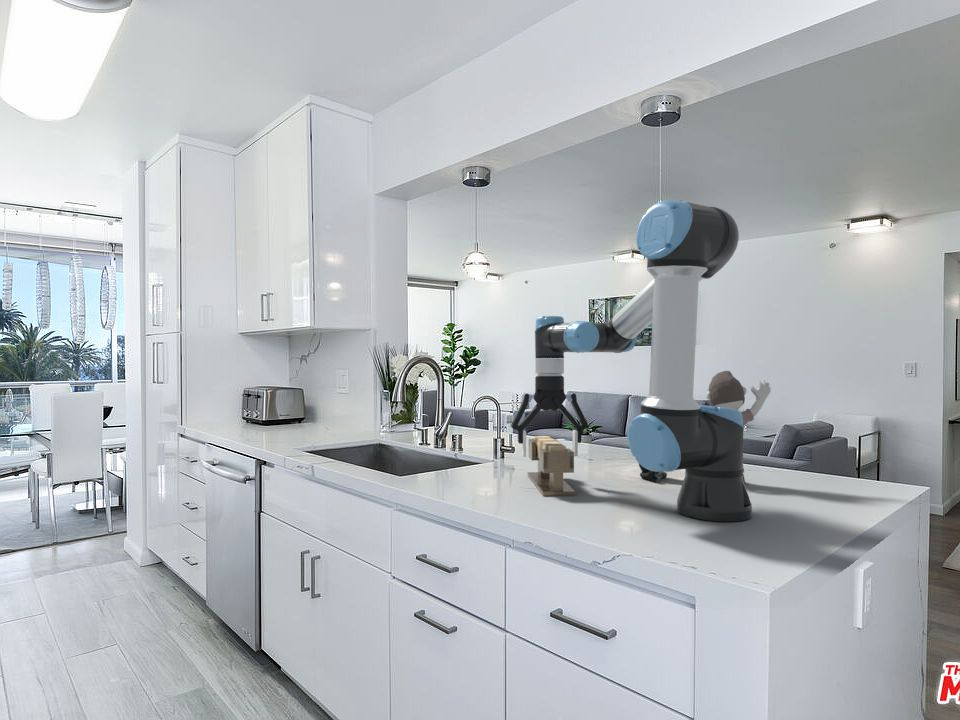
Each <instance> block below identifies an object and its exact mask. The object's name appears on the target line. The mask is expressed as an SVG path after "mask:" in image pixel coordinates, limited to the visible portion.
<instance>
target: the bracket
mask: <svg viewBox="0 0 960 720" xmlns="http://www.w3.org/2000/svg"><path fill="white" fill-rule="evenodd" d="M553 439H554V440H556V441H557V442H559V443H560V441H559V440H557V439H556V438H553ZM528 458H529V460H531V461H537V472H535V471H534V472H526V473H527V474H526V475H527V478H528V479H529V480H530V482H531V483H532V484H533V485H534V487H535V488H536V489H537V490H538V492H539V493H540V495H541V496H542V497H563V496H565V497H569V496H570V497H571V496H573V497H574V496H576V491H575V490H574V488H573V487H571V486H570V484H569V483H567V482H566V480H564V474H565V473H566V474H567V473H569V474H571V473H575V456H574V452H573V449H570V448H567V447H566V452H547V451H545V450H544V449H539V458H538V457H537V456H536V442H535V441H534V438H528Z"/></svg>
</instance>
